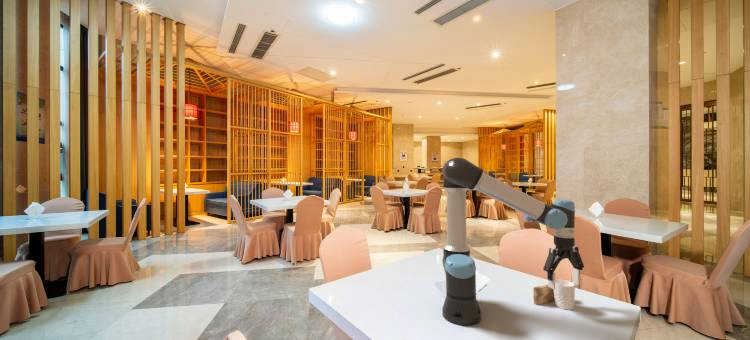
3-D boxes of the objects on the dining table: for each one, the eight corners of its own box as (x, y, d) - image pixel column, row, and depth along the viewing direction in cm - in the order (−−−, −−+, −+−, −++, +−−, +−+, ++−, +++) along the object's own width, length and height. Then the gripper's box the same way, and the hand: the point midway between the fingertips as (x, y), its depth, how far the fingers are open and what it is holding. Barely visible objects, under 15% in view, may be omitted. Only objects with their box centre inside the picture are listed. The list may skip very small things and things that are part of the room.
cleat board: (541, 307, 124) (541, 290, 124) (533, 303, 128) (533, 287, 128) (569, 301, 129) (569, 285, 129) (561, 297, 132) (561, 282, 132)
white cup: (579, 311, 120) (578, 287, 120) (558, 309, 121) (557, 285, 121) (570, 302, 127) (569, 280, 128) (550, 301, 129) (550, 279, 129)
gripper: (549, 240, 117) (549, 293, 117) (594, 236, 124) (594, 285, 124) (533, 236, 124) (533, 285, 124) (577, 232, 131) (577, 279, 131)
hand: (563, 286), depth 124 cm, fingers open, 13 cm apart
